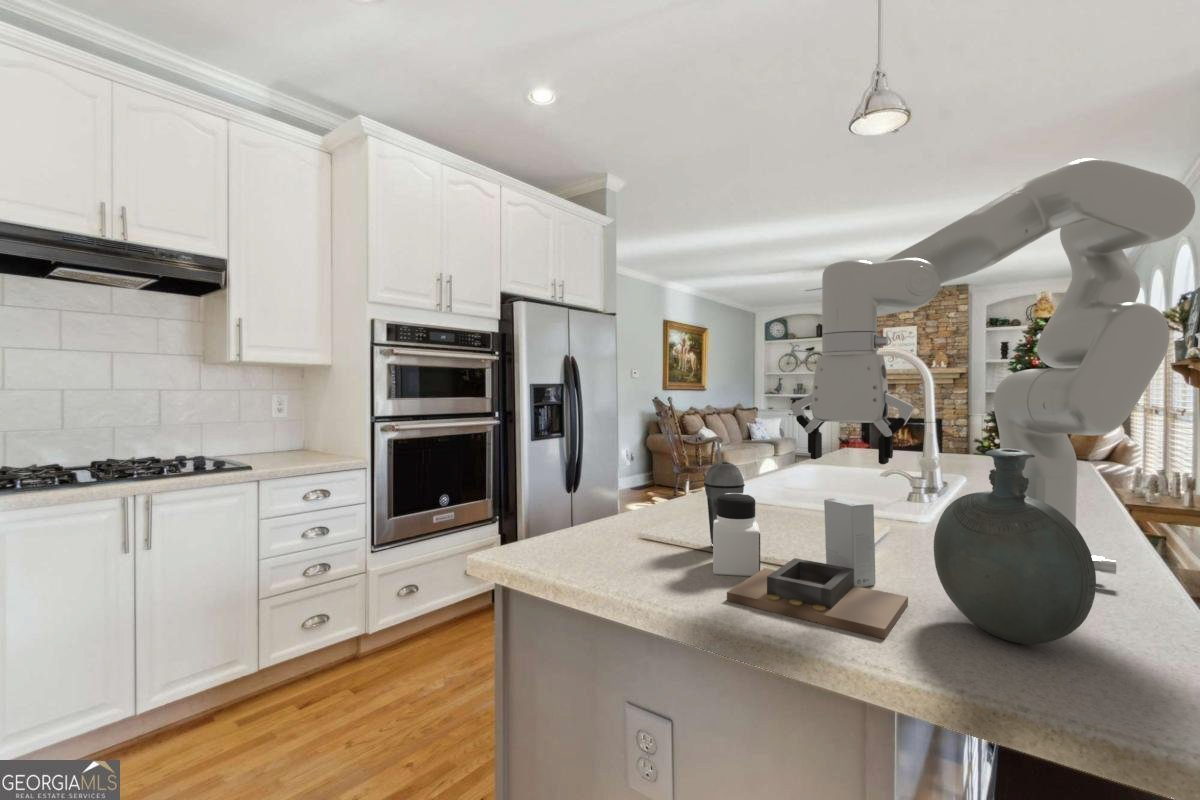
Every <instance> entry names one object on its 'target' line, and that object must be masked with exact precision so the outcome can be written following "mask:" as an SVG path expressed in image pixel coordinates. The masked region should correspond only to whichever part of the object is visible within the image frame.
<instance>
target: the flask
mask: <svg viewBox="0 0 1200 800" xmlns="http://www.w3.org/2000/svg"><path fill="white" fill-rule="evenodd" d="M984 454H985V455H986V456H988V457H991V458H992V460H993V465H994V466H993V467H994V468H993V469H990V470H989V475H988V480H989V484H991V486H992V487H991V490H992V491H980V492H974V493H973V492H971V493H968V494H964V495H962V496H961V497H958V498H957V499H955V500H954V501H952V502H951V503H950V504H949V505H948V506H947V507H946V508H945V509H944V511H943V512H942V513H941V515H940V518H939V519H938V522H937V524H936V529H935V531H934V536H933V557H934V565H935V570H936V574H937V576H938V578H939V581H940V584H941V586H942V588H943V590H944V591H945V593H946V595H947V597H948V598H949V599H950V601H951V602H952V603H953V605H954V606H955V607H956V608H957V609H958V610H959V611H960V612H961V613H962V614H963V615H964V616H965V617H966V618H967V619H968V620H969V621H970V622H972V623H973V624H974V625H976V626H977V627H979V628H980V629H982V630H983V631H984V632H986V633H989V634H991V635H993V636H994V637H996V638H999V639H1002V640H1004V641H1008V642H1011V643H1015V644H1020V645H1041V644H1046V643H1051V642H1054V641H1055V642H1056V641H1057V640H1060V639H1062V638H1064V637H1066V636H1069V635H1070V634H1072V633H1073V632H1074V631H1076V630H1077V629H1078V628H1080V627H1081V625H1082V624H1083V623H1084V622H1085V621H1086V619H1087V617H1088V615H1089V614H1090V612H1091V610H1092V607H1093V604H1094V602H1095V597H1096V596H1095V595H1096V589H1097V575H1096V571H1095V567H1094V562H1093V559H1092V556H1093V555H1092V553H1091V550H1090V549H1089V546H1088V545H1087V543H1086V540H1085V539H1084V537H1083V536H1082V533H1081V532H1080V531H1079V530H1078V528H1077V526H1076V527H1075V526H1074V525H1073V524H1072V523H1071V522H1070V521H1069V520H1068V519H1067V518H1066V517H1065V516H1064V515H1063V514H1062V513H1060V512H1059V511H1058V510H1056V509H1055V508H1053V507H1052V506H1050V505H1048V504H1046V503H1044V502H1042V501H1039V500H1036V499H1033V498H1030V497H1028V496H1026V495H1025V494H1024V493H1025V492H1026V490H1027V488H1028V486H1027V485H1028V484H1029V479H1028V478H1024V476H1023V473H1022V470H1024V467H1025V463H1026V460H1027V459H1028V458H1032V457H1035V455H1034V454H1032V453H1030V452H1027V451H1023V450H1018V449H1005V448H1004V449H1000V448H995V449H994V448H993V449H990V450H987V451H985V452H984Z"/></svg>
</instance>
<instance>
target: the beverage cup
mask: <svg viewBox="0 0 1200 800" xmlns="http://www.w3.org/2000/svg"><path fill="white" fill-rule="evenodd" d="M715 440H716V441H715V442H716V449H717V458H718V462H717V463H715V464H713V465H711V466H710V467H709V468H708V470H707V472H706V474H705V477H704V482H703V485H704V491H705V495H706V499H707V500H706V501H707V512H708V520H709V521H708V524H709V534H710V541H711V542H710V543H712V544H713V522H714V520H717V498H718V497H719V496H720V495H723V494H726V493H741V494H744V491H745V486H746V485H745V481H744V480H745V479H744V477H743V474H742V471H741V470H740V469H739V467H737V465H735V464H734V463H731V462H728V461H722V460H723V459H722V451H721V445H720V437H716V438H715ZM712 544H711V545H712Z"/></svg>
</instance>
